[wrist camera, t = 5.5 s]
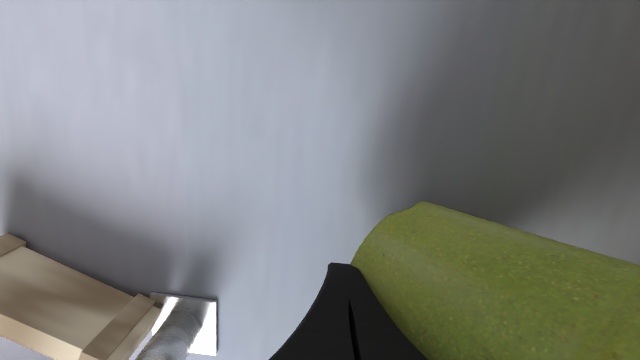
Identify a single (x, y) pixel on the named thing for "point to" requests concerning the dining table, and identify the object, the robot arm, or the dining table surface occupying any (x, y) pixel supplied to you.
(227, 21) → the dining table surface
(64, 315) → the wooden capped beam
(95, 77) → the dining table surface
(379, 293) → the plant pot
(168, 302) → the chrome post on plate
